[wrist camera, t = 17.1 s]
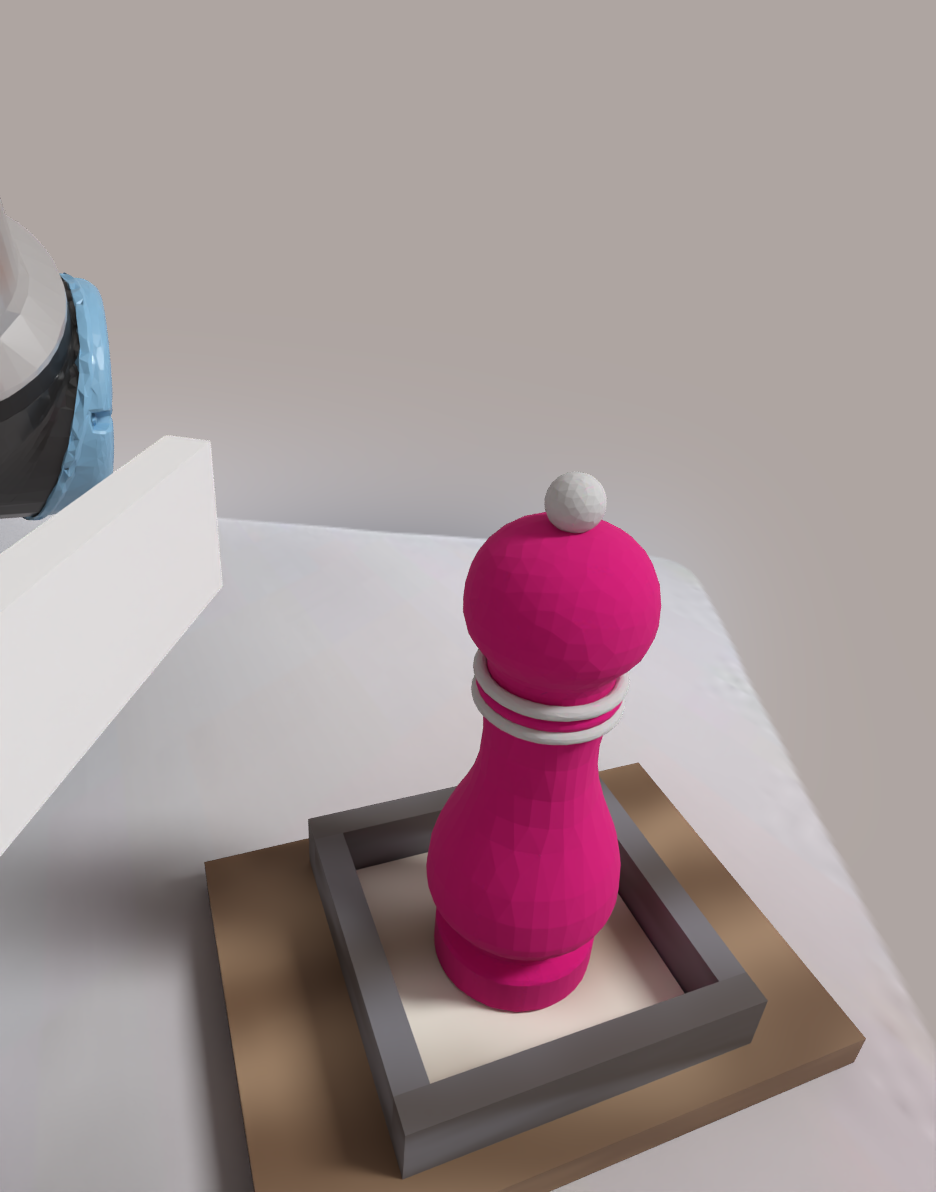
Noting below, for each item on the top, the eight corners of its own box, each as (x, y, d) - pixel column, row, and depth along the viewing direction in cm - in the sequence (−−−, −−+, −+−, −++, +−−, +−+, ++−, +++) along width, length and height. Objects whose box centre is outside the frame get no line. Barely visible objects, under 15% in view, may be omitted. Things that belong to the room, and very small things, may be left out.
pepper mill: (458, 850, 37) (498, 417, 27) (617, 903, 35) (721, 457, 25) (391, 985, 31) (410, 493, 21) (578, 1056, 29) (694, 552, 19)
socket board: (207, 886, 37) (199, 819, 35) (633, 784, 44) (646, 725, 42) (272, 1309, 24) (265, 1242, 22) (853, 1062, 32) (887, 996, 30)
